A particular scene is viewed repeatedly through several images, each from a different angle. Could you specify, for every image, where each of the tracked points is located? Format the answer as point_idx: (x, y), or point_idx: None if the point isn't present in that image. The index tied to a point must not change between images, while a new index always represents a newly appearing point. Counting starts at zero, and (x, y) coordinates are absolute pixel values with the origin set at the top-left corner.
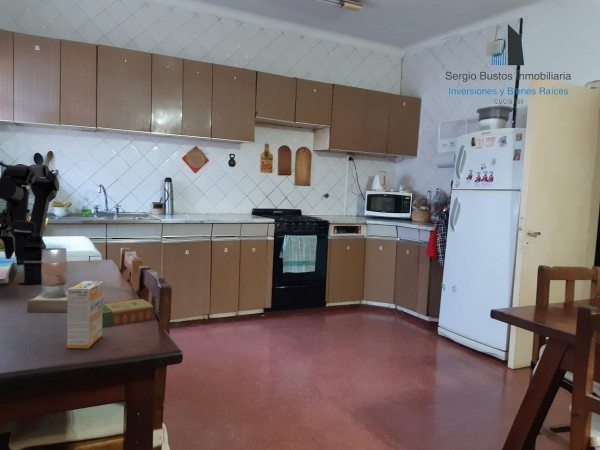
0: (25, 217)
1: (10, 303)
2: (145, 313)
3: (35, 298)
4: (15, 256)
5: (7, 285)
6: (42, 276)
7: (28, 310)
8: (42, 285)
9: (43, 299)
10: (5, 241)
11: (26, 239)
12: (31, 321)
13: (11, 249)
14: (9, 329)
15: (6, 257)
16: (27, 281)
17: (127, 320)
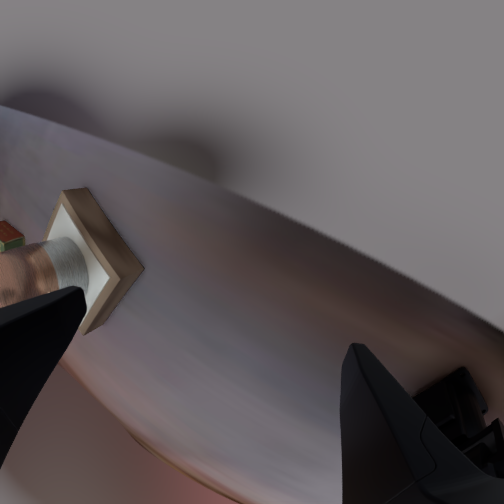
0: None
1: (186, 189)
2: None
3: (66, 216)
4: (75, 286)
5: (484, 327)
6: (13, 250)
7: (82, 189)
8: (37, 243)
9: (54, 226)
10: (407, 501)
11: None
12: (45, 168)
13: (351, 444)
14: (37, 123)
15: (353, 349)
16: (432, 389)
17: None
